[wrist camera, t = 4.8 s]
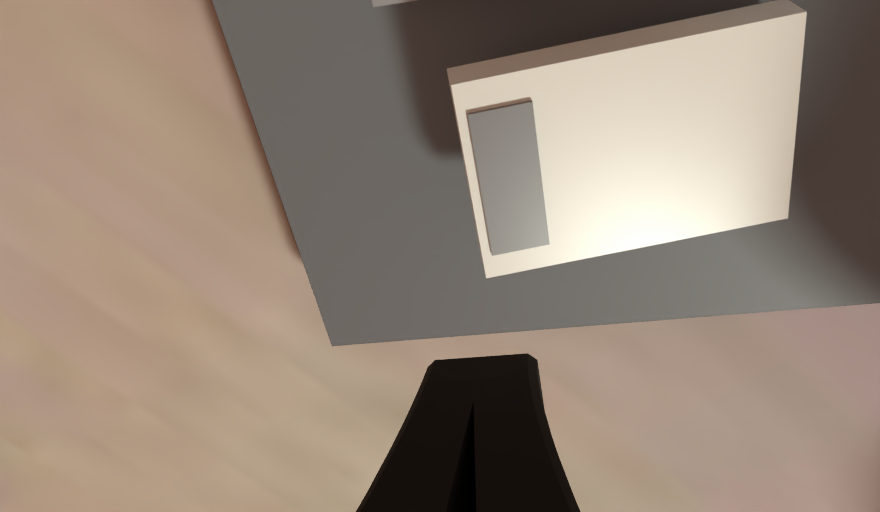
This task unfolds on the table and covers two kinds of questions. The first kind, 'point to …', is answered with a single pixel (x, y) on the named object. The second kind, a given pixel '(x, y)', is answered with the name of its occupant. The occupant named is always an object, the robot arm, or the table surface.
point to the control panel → (446, 188)
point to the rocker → (631, 136)
